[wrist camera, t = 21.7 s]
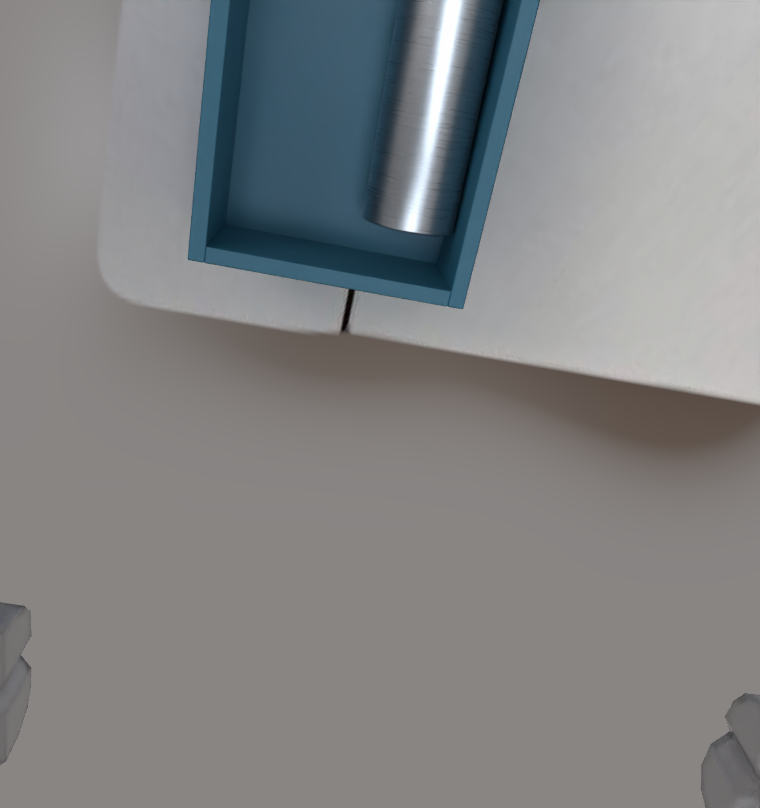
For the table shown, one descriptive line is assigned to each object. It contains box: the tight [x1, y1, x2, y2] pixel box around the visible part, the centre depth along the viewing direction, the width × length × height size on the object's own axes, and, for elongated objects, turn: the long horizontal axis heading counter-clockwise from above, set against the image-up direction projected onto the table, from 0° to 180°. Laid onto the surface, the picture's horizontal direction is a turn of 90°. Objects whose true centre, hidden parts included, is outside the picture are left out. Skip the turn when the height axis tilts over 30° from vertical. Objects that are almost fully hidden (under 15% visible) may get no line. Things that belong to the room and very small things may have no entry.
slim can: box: [363, 0, 504, 236], centre depth 34 cm, size 18×5×5 cm
